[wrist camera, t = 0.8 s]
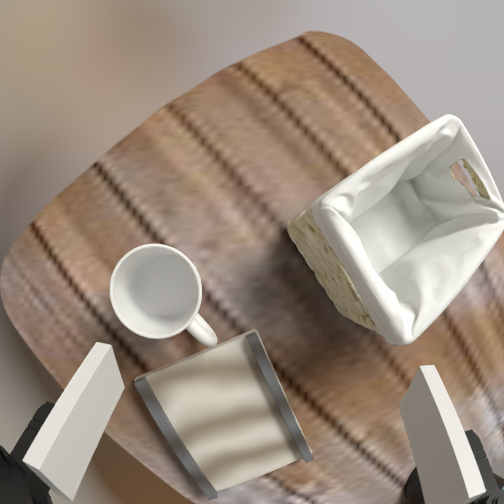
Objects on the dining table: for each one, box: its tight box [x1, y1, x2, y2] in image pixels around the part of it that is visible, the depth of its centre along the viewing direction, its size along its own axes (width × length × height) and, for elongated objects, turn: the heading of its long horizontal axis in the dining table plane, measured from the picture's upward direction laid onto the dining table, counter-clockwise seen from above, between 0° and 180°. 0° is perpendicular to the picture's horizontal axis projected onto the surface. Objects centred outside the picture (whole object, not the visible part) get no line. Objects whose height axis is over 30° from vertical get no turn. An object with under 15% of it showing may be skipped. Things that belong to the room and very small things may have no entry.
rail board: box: [134, 328, 314, 500], centre depth 34 cm, size 20×16×3 cm
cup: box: [110, 244, 218, 347], centre depth 31 cm, size 8×12×10 cm
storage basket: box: [287, 115, 504, 346], centre depth 33 cm, size 24×16×15 cm
